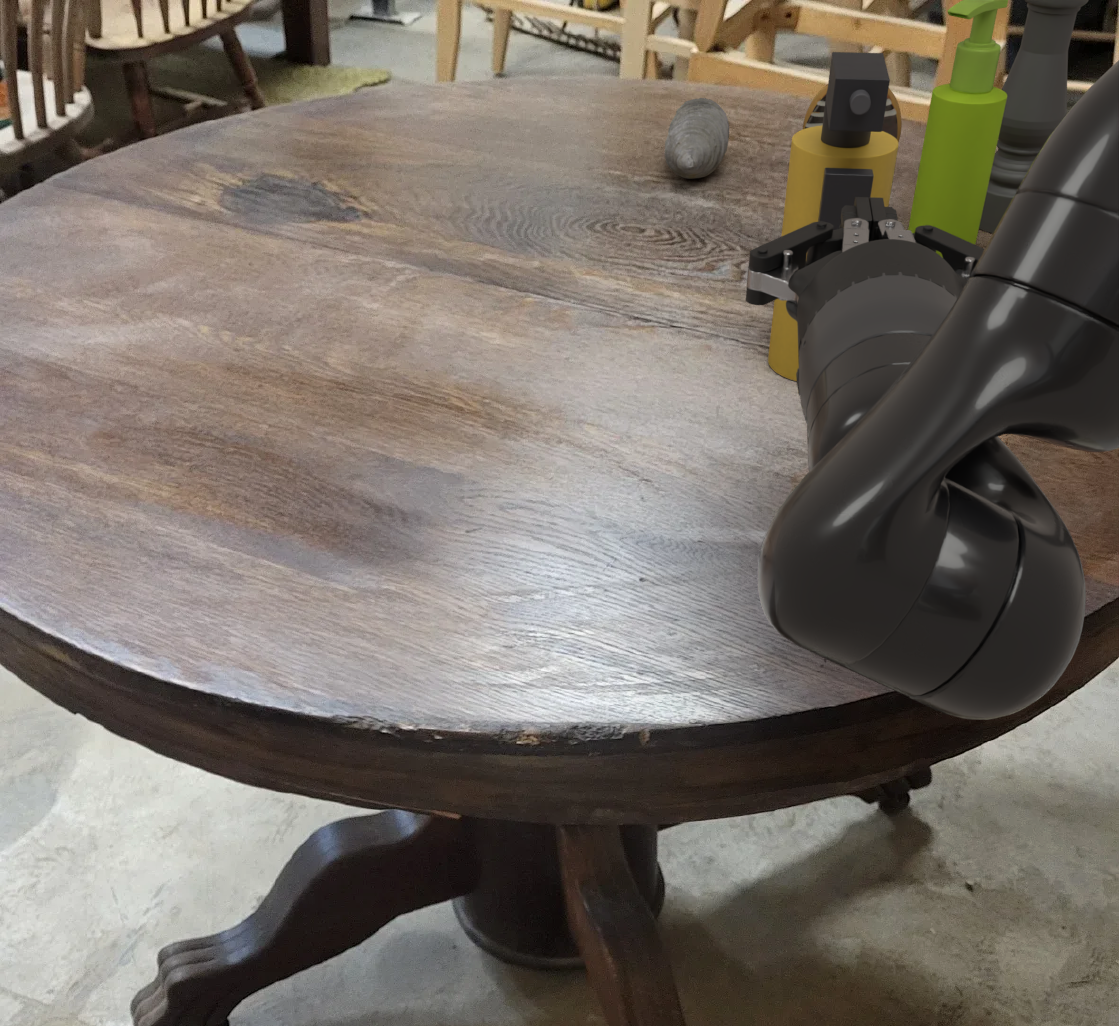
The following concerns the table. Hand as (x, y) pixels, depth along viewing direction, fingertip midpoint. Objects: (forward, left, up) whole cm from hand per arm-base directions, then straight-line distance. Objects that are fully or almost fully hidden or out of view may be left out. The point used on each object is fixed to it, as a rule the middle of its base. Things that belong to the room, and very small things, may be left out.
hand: (865, 215), depth 66 cm
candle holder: (-18, -50, -18) cm, 56 cm away
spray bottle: (0, -17, -18) cm, 25 cm away
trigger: (0, -13, -8) cm, 15 cm away
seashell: (+11, -61, -18) cm, 64 cm away
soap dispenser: (-11, -42, -18) cm, 47 cm away
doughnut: (-4, -61, -18) cm, 63 cm away
